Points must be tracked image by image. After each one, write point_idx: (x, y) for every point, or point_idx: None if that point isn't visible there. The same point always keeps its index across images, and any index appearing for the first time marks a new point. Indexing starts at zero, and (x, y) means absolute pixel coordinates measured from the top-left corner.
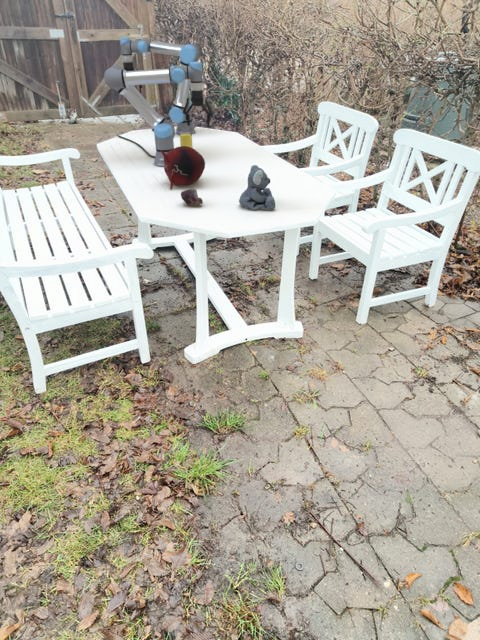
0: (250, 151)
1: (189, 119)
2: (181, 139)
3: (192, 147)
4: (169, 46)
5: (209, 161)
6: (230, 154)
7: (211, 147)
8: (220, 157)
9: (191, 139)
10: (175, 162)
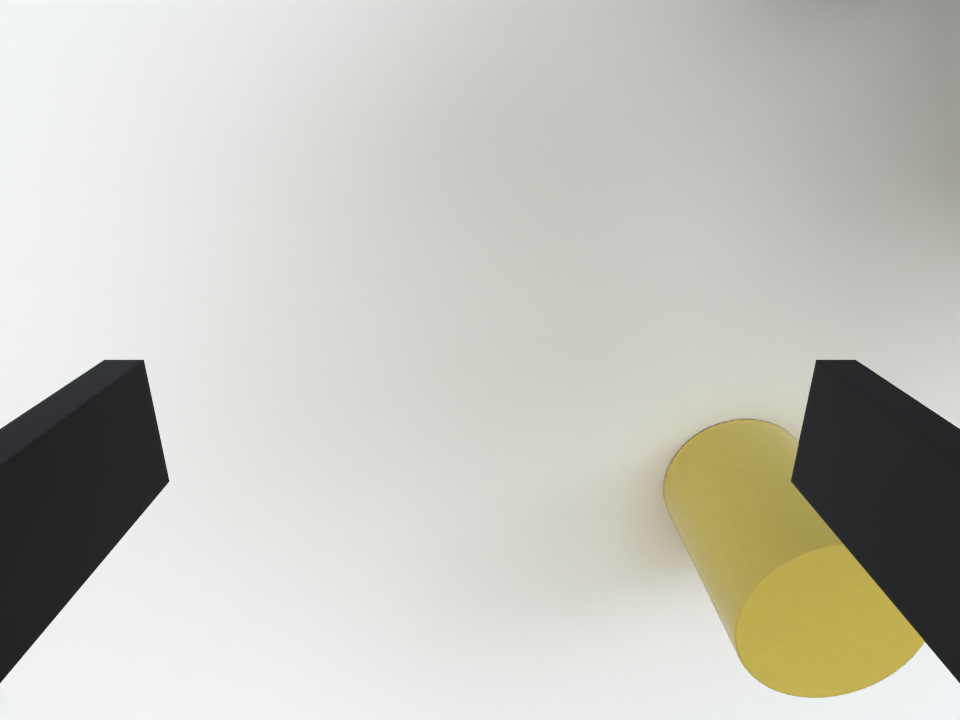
0: None
1: (900, 578)
2: None
3: (676, 523)
4: None
5: (276, 61)
6: None
7: (490, 662)
8: (217, 300)
9: (713, 575)
10: None
